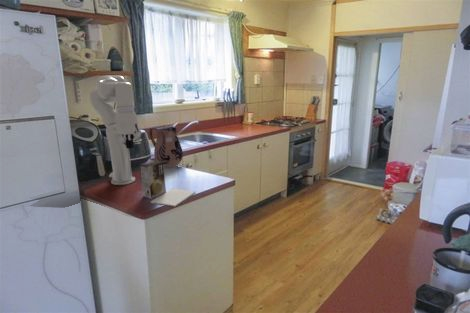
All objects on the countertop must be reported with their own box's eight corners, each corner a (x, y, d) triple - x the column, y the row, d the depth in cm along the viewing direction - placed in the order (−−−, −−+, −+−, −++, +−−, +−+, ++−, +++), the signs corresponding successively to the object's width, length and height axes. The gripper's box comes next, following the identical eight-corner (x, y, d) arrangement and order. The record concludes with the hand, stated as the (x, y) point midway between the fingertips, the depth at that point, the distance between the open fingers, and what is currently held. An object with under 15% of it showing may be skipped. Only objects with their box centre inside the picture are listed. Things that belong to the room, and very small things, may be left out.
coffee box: (158, 190, 162) (155, 159, 158) (166, 193, 158) (163, 161, 154) (142, 196, 155) (139, 163, 151) (151, 199, 151) (147, 166, 147)
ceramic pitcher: (178, 170, 196) (175, 129, 190) (145, 169, 199) (141, 129, 193) (187, 162, 213) (184, 124, 206) (156, 161, 216) (153, 124, 210)
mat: (150, 202, 147) (150, 201, 147) (173, 189, 163) (172, 188, 163) (175, 206, 142) (174, 205, 142) (195, 192, 158) (195, 191, 158)
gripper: (107, 110, 151) (112, 148, 155) (133, 110, 145) (137, 150, 149) (118, 108, 157) (123, 145, 162) (143, 108, 151) (147, 147, 156)
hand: (130, 147), depth 155 cm, fingers closed
